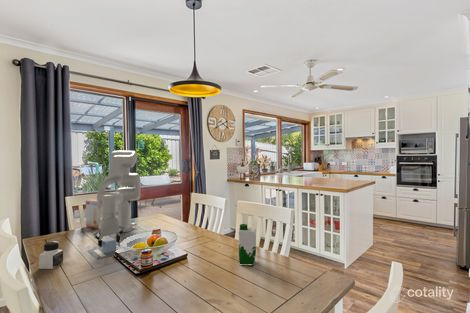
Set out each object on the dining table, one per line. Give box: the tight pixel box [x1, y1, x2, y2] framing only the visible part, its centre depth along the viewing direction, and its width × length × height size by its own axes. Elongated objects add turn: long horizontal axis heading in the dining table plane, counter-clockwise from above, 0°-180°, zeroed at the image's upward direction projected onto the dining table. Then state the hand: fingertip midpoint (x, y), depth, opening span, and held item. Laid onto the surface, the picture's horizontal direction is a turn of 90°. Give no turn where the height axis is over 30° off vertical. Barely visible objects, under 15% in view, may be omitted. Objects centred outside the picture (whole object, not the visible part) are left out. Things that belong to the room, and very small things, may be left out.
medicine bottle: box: [38, 240, 64, 270], centre depth 127 cm, size 7×7×12 cm
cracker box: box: [85, 198, 102, 230], centre depth 194 cm, size 14×6×21 cm, turn 65°
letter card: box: [87, 242, 121, 260], centre depth 147 cm, size 18×17×1 cm
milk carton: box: [238, 223, 257, 265], centre depth 132 cm, size 9×9×20 cm
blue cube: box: [101, 237, 117, 253], centre depth 147 cm, size 6×6×6 cm
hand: (109, 244), depth 147 cm, fingers open, 9 cm apart
